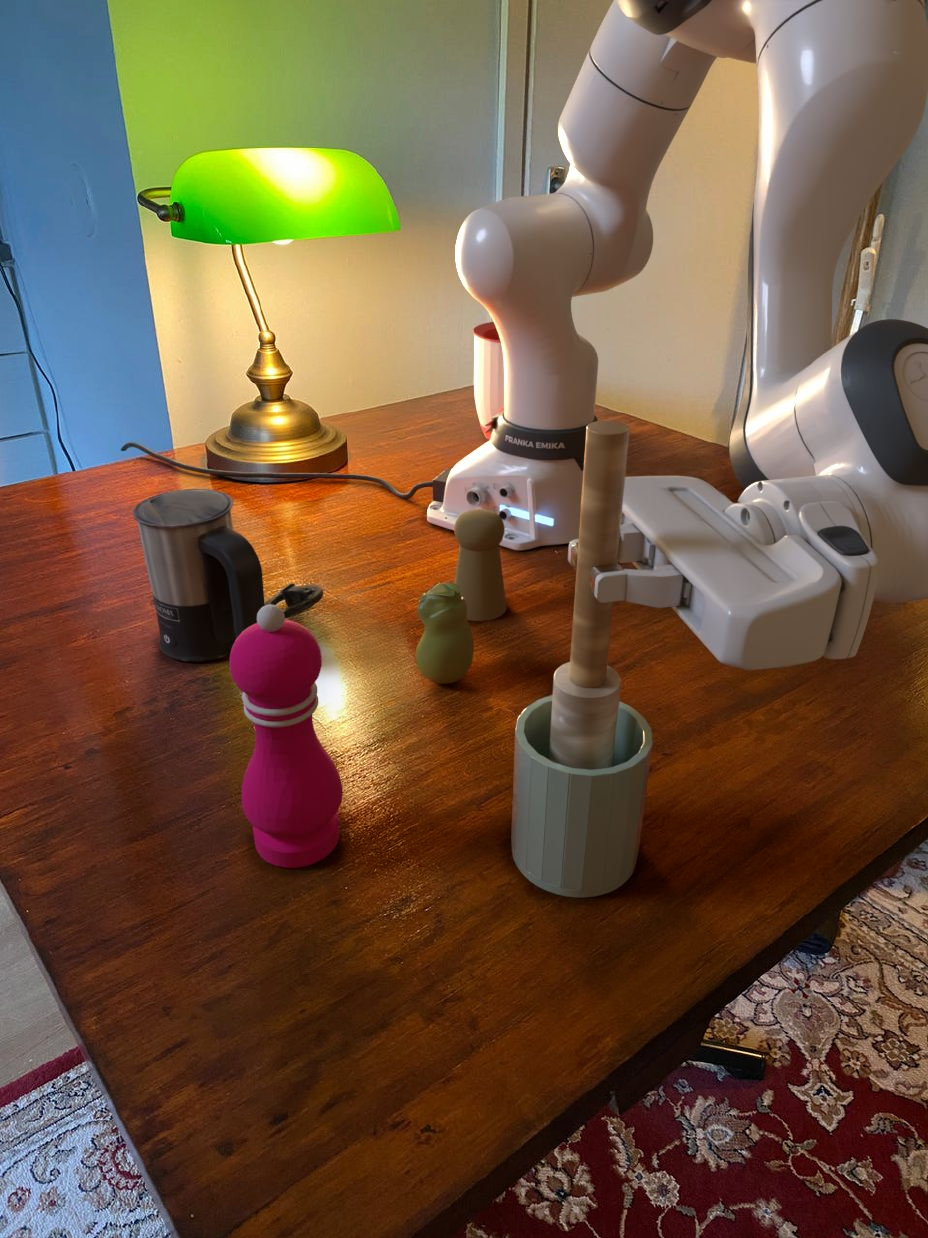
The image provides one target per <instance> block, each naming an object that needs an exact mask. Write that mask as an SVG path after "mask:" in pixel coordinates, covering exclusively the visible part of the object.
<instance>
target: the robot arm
mask: <svg viewBox="0 0 928 1238" xmlns="http://www.w3.org/2000/svg"><path fill="white" fill-rule="evenodd" d="M718 58H719V59H728V58H729V59H732V60H736V61H740V62H744V63H749V64H755V65H756V72H757V74H756V75H757V95H758V141H757V143H758V144H757V166H756V177H755V179H756V180H755V187H754V196H753V197H754V198H753V205H752V213H751V222H750V223H751V224H750V231H749V239H748V240H749V241H748V258H747V260H748V262H747V298H746V299H747V300H746V301H747V307H746V308H747V309H746V313H747V316H746V363H745V364H746V365H745V369H746V370H745V371H746V372H745V383H744V390H743V395H742V398H741V402H740V406H739V408H738V410H737V413H736V417H735V418H734V422H733V425H732V428H731V431H730V437H729V445H728V447H729V459H730V464H731V466H732V470H733V473H734V474H735V477H736V479H737V481H738V483H739V484H740V486H741V488H742V489H743V491H742V493H741V494H740V495H739V497H738V499H737V502H733V501H731V499H729V497H728V496H727V495H726V494H725V493H724V492H721V491H719V490H718V489H716V488H715V487H714V486H713V485H712V484H710V483H708V482H707V481H705V480H703V479H700V478H698V477H693V476H686V475H644V476H643V475H641V476H640V475H639V476H625V484H624V494H623V505H622V515H621V526H620V536H619V547H618V557H617V564H608V565H606V566H602V565H599V566H595V567H593V568H592V569H591V571H590V582H589V589H590V591H591V592H592V593H593V595H594V596H595V597H596V599H597V600H598V601H599V602H600V603H608V602H613V603H615V602H624V601H625V602H626V603H631V604H636V605H640V606H646V607H650V608H655V609H664V608H671V609H672V610H673V611H674V612H675V614H676V615H677V616H679V619H681V620H682V621H683V623H684V624H685V625H686V626H687V627H688V628H689V629H690V630H691V632H692V633H693V634H694V635H695V636H696V637H697V638H698V640H700V642H701V643H702V644H703V645H704V646H705V648H707V649H708V651H709V652H710V653H711V654H712V655H713V657H715V659H716V660H717V661H718V662H719V663H720V664H722V665H725V666H728V667H730V668H735V669H739V670H743V671H763V670H770V669H778V668H780V669H781V668H785V667H786V668H787V667H792V666H793V667H794V666H798V665H803V664H809V663H812V662H815V661H817V660H820V659H821V658H822V657H823V658H825V659H828V660H847V659H851V658H854V657H855V656H856V655H857V654H858V650H859V648H860V645H861V643H862V640H863V637H864V634H865V631H866V628H867V623H868V622H869V617H870V614H871V610H872V607H873V602H874V601H875V602H879V603H886V604H900V603H905V602H906V603H907V602H913V601H921V600H928V327H926V326H924V325H921V324H919V323H915V322H913V321H909V320H903V319H896V318H895V319H894V318H887V319H879V320H875V321H872V322H870V323H867V324H865V325H864V326H862V327H861V328H859V329H858V330H857V331H855V332H853V333H852V334H850V335H849V336H847V337H845V338H844V339H842V340H841V341H840V342H838V343H837V344H836V345H834V346H832V336H833V333H832V331H833V330H832V329H833V284H834V278H835V271H836V267H837V265H838V262H839V259H840V256H841V253H842V250H843V249H844V247H845V244H846V242H847V240H848V238H849V236H850V235H851V232H852V231H853V229H854V227H855V225H856V224H857V221H858V220H859V219H860V217H861V215H862V213H863V212H864V210H865V209H866V208H867V205H868V204H869V202H870V201H871V200H872V198H873V197H874V195H875V194H876V193H877V191H878V190H879V188H880V187H881V185H882V184H883V182H884V181H885V179H887V177H888V176H889V174H890V173H891V171H892V170H893V169H894V168H895V166H896V164H897V163H898V162H899V161H900V159H901V158H902V156H903V155H904V153H905V152H906V150H907V149H908V147H909V145H910V144H911V142H912V141H913V139H914V137H915V136H916V133H917V131H918V129H919V128H920V125H921V122H922V120H923V117H924V113H925V109H926V104H927V98H928V19H927V11H926V4H925V0H612V2H611V4H610V6H609V8H608V10H607V11H606V14H605V16H604V17H603V19H602V22H601V24H600V26H599V28H598V30H597V32H596V35H595V36H594V39H593V40H592V43H591V45H590V47H589V49H588V52H587V54H586V57H585V59H584V61H583V63H582V66H581V68H580V71H579V73H578V75H577V78H576V80H575V82H574V84H573V87H572V89H571V91H570V93H569V96H568V98H567V100H566V103H565V105H564V107H563V109H562V112H561V114H560V116H559V119H558V124H557V125H558V126H557V135H558V140H559V143H560V147H561V150H562V152H563V154H564V156H565V158H566V159H567V161H568V162H569V169H568V171H567V172H568V173H567V176H566V178H565V181H564V182H563V184H562V185H561V186H560V187H559V188H558V189H557V190H556V191H555V192H552V193H545V194H535V195H534V194H533V195H532V194H531V195H523V196H522V195H521V196H511V197H506V198H503V199H501V200H498V201H495V202H492V203H489V204H487V205H484V206H481V207H480V208H477V209H475V210H473V211H471V213H470V214H468V215H467V217H465V219H464V220H463V223H462V224H461V226H460V228H459V231H458V233H457V236H456V242H455V249H454V250H455V251H454V253H455V254H454V257H455V266H456V270H457V274H458V277H459V278H460V280H461V283H462V285H463V287H464V288H465V289H466V291H467V292H468V293H469V295H470V296H471V297H472V298H474V300H476V301H477V302H478V303H480V305H482V307H484V309H485V310H486V311H487V312H488V314H489V316H490V317H491V319H492V322H494V324H495V326H496V328H497V331H498V334H499V337H500V341H501V345H502V350H503V357H504V407H502V408H501V409H500V410H499V413H498V414H497V415H495V416H493V417H492V418H491V421H489V422H488V423H486V424H485V426H488V427H487V428H486V430H485V433H488V432H489V431H491V439H490V440H488V441H487V442H485V443H484V444H482V445H480V446H479V447H477V448H476V449H475V450H473V451H472V452H471V453H469V454H468V455H466V456H465V457H463V458H462V459H461V460H459V461H458V462H457V463H456V464H455V465H454V466H453V468H449V467H448V468H446V469H445V470H443V471H442V472H441V473H440V474H438V475H437V476H435V477H434V478H433V479H432V481H423V482H419V483H417V484H415V485H413V486H412V488H411V489H409V492H406V493H404V492H403V493H402V492H400V491H399V490H398V489H396V488H395V487H394V486H393V485H392V484H391V483H390V482H389V481H387V480H385V479H383V478H380V477H377V476H372V475H365V474H357V473H356V474H355V473H354V474H353V473H327V472H326V473H325V472H324V473H323V472H321V473H320V472H248V471H245V472H244V471H231V470H230V471H229V470H220V469H219V470H218V469H211V468H204V467H199V466H194V465H190V464H187V463H184V462H180V461H177V460H174V459H172V458H170V457H168V456H165V455H163V454H160V453H157V452H155V451H153V450H152V449H149V448H148V447H146V446H145V445H142V444H140V443H137V442H132V441H130V442H127V443H125V444H124V445H123V446H122V447H121V448H120V451H121V452H126V451H127V450H128V449H129V448H135V449H138V450H140V451H142V452H143V453H145V454H147V455H148V456H150V457H152V458H154V459H157V460H160V461H162V462H165V463H167V464H169V465H171V466H174V467H176V468H180V469H182V470H187V471H190V472H195V473H200V474H205V475H214V476H222V477H233V478H234V477H235V478H252V479H253V478H255V479H256V478H258V479H259V478H261V479H327V480H329V479H330V480H335V479H336V480H358V481H367V482H372V483H375V484H380V485H382V487H384V488H386V489H387V490H388V491H389V492H390V493H392V494H393V495H394V496H396V497H398V498H400V499H402V500H403V499H404V500H406V499H408V500H409V499H411V498H413V497H414V496H415V495H416V493H417V491H418V490H421V489H423V488H432V501H431V503H430V504H429V505H428V508H427V509H426V510H427V511H426V522H428V523H429V524H433V525H435V526H437V527H438V526H439V527H441V528H444V529H447V530H452V531H454V526H455V522H456V520H457V518H458V517H459V515H461V514H462V513H464V512H466V511H469V510H474V509H485V510H490V511H492V512H495V513H497V514H498V515H499V516H500V517H501V519H502V521H503V523H504V527H505V528H504V535H503V539H502V541H501V542H500V544H499V547H500V546H501V547H504V548H507V549H510V550H514V551H527V550H531V549H534V548H539V547H543V546H556V545H565V544H566V545H567V544H568V549H567V550H568V551H567V561H568V563H569V565H570V566H571V567H572V568H573V570H575V572H576V571H577V557H578V543H579V529H580V514H581V500H582V486H583V472H584V458H585V444H586V429H587V425H588V424H590V423H592V422H596V421H598V417H597V416H596V414H595V413H596V400H597V388H598V387H597V386H598V375H599V374H598V372H599V355H598V353H597V350H596V348H595V347H594V346H593V344H592V343H591V342H590V341H588V340H587V338H585V337H583V336H582V335H580V334H579V333H578V331H577V329H576V326H575V323H574V320H573V312H572V299H573V298H574V297H581V296H586V295H593V294H597V293H603V292H607V291H609V290H612V289H614V288H616V287H618V286H620V285H622V284H625V283H626V282H628V281H630V280H631V279H634V278H635V277H637V276H638V275H639V274H640V273H642V271H643V270H644V268H645V267H646V266H647V264H648V263H649V260H650V258H651V256H652V255H651V254H652V251H653V247H654V227H653V223H652V220H651V217H650V214H649V211H648V210H647V207H648V200H649V196H650V191H651V188H652V185H653V181H654V179H655V178H656V177H655V176H656V175H657V172H658V170H659V167H660V165H661V163H662V161H663V159H664V158H665V155H666V154H667V151H668V150H669V148H670V146H671V144H672V142H673V140H674V139H675V136H676V135H677V133H678V132H679V129H680V127H681V125H682V123H683V121H684V119H685V118H686V117H687V114H688V113H689V110H690V109H691V107H692V105H693V103H694V102H695V99H696V97H697V95H698V94H699V92H700V90H701V88H702V85H703V83H704V82H705V79H706V78H707V76H708V73H709V71H710V69H711V67H712V65H713V64H714V62H715V61H716V60H717V59H718ZM619 563H620V564H626V563H631V564H632V565H633V566H634V568H635V569H631V568H623V567H622V566H621V565H620V564H619Z"/></svg>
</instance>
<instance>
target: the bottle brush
mask: <svg viewBox="0 0 928 1238" xmlns="http://www.w3.org/2000/svg"><path fill="white" fill-rule="evenodd" d="M630 431H631V430H630V426H629V425H627V424H626V423H623V422H619V421H617V420H615V421H614V420H597V421H596V422H592V423H590V424H588V425H587V429H586V444H585V458H584V472H583V486H582V500H581V514H580V529H579V543H578V557H577V571H576V570H575V572H576V573H575V586H574V587H575V589H574V600H573V601H574V602H573V615H572V627H571V628H572V630H571V641H570V642H571V643H570V658H569V661H568V662H566V663H563V664H561V665H560V666H559V667H558V668H556V670H555V671H554V674H553V681H552V682H553V683H552V695H553V697H552V714H551V730H550V747H549V760H550V761H552V762H554V763H557V764H561V765H564V766H567V767H571V768H578V769H589V770H594V769H602V768H611V767H612V764H613V754H614V745H615V736H616V726H617V717H618V707H619V701H620V696H621V688H622V687H621V686H622V678H621V676H620V674H619V673H618V671H616V670H615V668H613V667H611V666H610V665H608V663H609V650H610V641H611V629H612V621H613V620H612V619H613V609H614V602H608V603H600V602H599V601H598V600H597V599H596V597H595V596H594V595H593V593H592V592H591V591H590V589H589V582H590V571H591V569H592V568H593V567H595V566H599V565H602V566H606V565H608V564H617V563H618V559H617V557H618V547H619V536H620V526H621V515H622V505H623V494H624V484H625V477H626V473H627V461H628V453H629V452H628V451H629V440H630Z"/></svg>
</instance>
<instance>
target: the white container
mask: <svg viewBox="0 0 928 1238" xmlns="http://www.w3.org/2000/svg"><path fill="white" fill-rule="evenodd" d="M472 334H473V337H474V339H473V340H474V341H473V343H474V344H473V345H474V347H473V352H474V353H473V356H474V357H473V361H474V362H473V390H474V392H473V393H474V402H475V408H476V413H477V416H478V420H479V425H480V427H481V430H482V432H483V434H484V437H485V438H486V439H487V440H488V441H490V439H491V431H489V432H488V433H485V430H486V428H487V427H488V426H485V424H486V423H488V422H489V421H491V418H492V417H493V416H495V415H497V414H498V413H499V410H500V409H501V408H502V407H504V357H503V350H502V345H501V341H500V337H499V334H498V331H497V328H496V326H495V324H494V321H489V322H485V323H480V324H478V325H476V326H475V327H474V328H473V329H472Z"/></svg>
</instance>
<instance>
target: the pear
mask: <svg viewBox="0 0 928 1238" xmlns="http://www.w3.org/2000/svg"><path fill="white" fill-rule="evenodd" d="M417 605H418V606H417V617H418V618H419V620H420V621H421V623H423V626H424V632H423V634H422V635H421V638H420V639H419V642H418V643H417V646H416V649H415V653H414V654H415V657H414V658H415V664H416V666H417V669H418V671H419V672H420V674H421V675H422V676H423V677H424V678H425V679H427V680H428V681H430V682H432V683H436V684H439V685H449V684H453V683H456V682H458V681H459V680H461V679H462V678H464V677H465V676H466V675H467V673H468V672H469V670H470V669H471V665H472V662H473V658H474V650H475V649H474V648H475V647H474V646H475V643H474V634H473V630H472V627H471V625H470V623H469V620H467V606H466V602H465V599H464V597H461V596H460V589H459V587H458V586H457V585H456V584H454V582H444V583H442V582H436V583H435V584H434V585H433V586H431V587H430V588H429V589H428V590H427V591H425V592H423V594H421V596H420V598H419V600H418V601H417Z"/></svg>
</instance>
